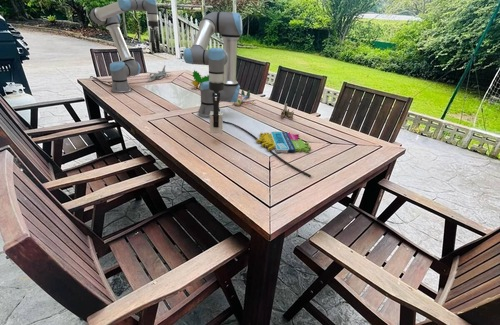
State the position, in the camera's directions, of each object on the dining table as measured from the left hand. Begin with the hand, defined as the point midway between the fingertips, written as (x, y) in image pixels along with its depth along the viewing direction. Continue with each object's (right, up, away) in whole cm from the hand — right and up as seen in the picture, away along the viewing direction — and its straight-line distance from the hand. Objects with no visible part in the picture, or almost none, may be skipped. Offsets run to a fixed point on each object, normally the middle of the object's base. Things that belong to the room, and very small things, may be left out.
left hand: (156, 50), depth 209 cm
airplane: (-21, 0, +67) cm, 71 cm away
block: (+57, -72, -65) cm, 113 cm away
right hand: (+57, -69, -67) cm, 112 cm away
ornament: (+30, -19, +42) cm, 55 cm away
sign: (+94, -78, -57) cm, 135 cm away
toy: (+68, -38, +11) cm, 79 cm away
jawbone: (+102, -56, -16) cm, 117 cm away
